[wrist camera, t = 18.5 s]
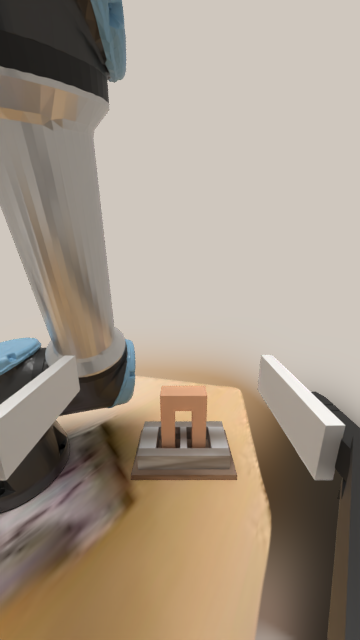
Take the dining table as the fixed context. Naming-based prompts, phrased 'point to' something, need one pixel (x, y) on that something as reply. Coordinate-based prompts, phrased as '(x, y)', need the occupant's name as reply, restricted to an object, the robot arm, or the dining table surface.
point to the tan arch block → (183, 401)
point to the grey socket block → (183, 455)
